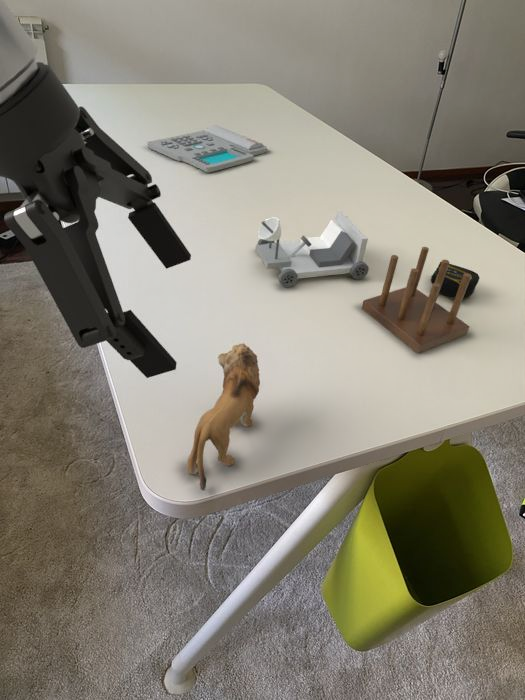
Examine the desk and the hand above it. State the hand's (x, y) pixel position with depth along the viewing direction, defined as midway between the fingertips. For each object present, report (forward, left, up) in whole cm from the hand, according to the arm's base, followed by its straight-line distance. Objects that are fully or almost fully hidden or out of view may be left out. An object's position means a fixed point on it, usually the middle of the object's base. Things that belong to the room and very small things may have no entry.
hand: (171, 311), depth 49 cm
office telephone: (+78, -46, -17) cm, 92 cm away
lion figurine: (-2, -5, -17) cm, 18 cm away
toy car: (+25, -35, -17) cm, 46 cm away
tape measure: (+9, -53, -17) cm, 56 cm away
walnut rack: (+5, -41, -17) cm, 45 cm away
